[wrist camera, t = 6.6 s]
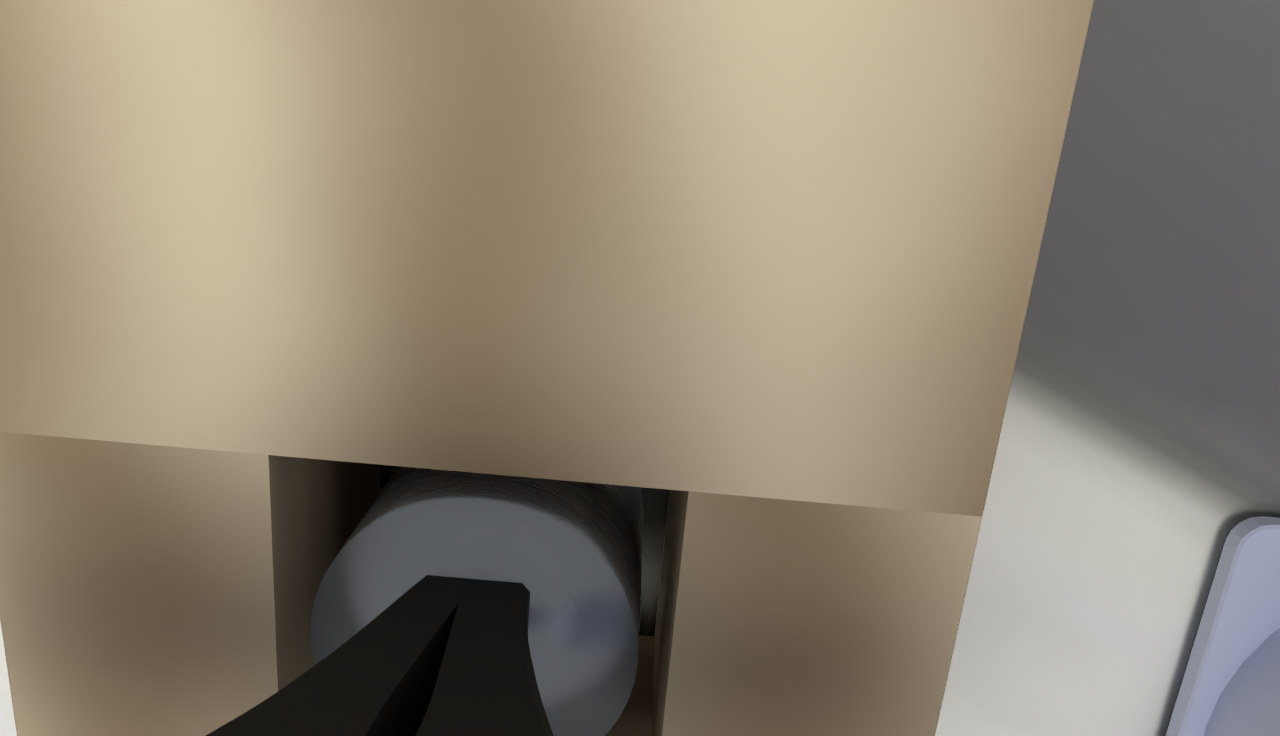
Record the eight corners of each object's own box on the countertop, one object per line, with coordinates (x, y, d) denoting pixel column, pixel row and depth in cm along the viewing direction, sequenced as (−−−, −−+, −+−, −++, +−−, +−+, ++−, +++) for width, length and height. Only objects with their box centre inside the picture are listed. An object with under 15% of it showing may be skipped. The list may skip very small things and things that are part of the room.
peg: (654, 404, 15) (652, 515, 11) (633, 628, 16) (625, 797, 12) (397, 382, 15) (306, 485, 11) (396, 608, 16) (314, 771, 12)
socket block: (1112, -871, 11) (1426, -1534, 6) (818, 807, 18) (869, 1041, 13) (76, -966, 10) (-331, -1699, 6) (200, 755, 18) (50, 972, 13)
